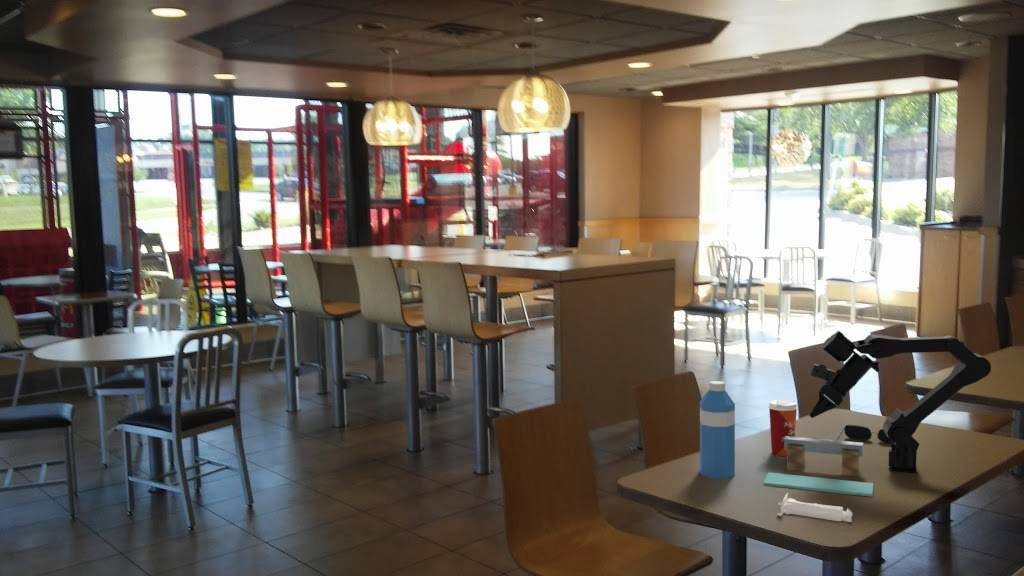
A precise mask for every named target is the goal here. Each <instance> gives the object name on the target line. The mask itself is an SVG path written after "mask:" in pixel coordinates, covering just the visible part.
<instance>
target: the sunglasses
mask: <svg viewBox="0 0 1024 576" xmlns="http://www.w3.org/2000/svg"><path fill="white" fill-rule="evenodd" d="M843 432H844V435H845V436H846V437H847V438H848V439H852V440H861V441H869V440H870V439H872V437H873V434H874V433H875V434H876V437H877V438H876V439H878V440H879V441H880V442H882V443H886V444H887V443H888V444H894V443H893V442H892V441H891V440H890V439H889V438H888V437H887V435H886V434H885V433H884V430H883V428H881V429H879V430H878V432H877V433H876V432H875V431H874V432H871V429H870V428H869V427H867V426H863V425H857V424H854V425H850V424H847V425H844V427H843V428H842V430H841V432H840V433H839V435H838V436H837V439H836V440H837V441H839V439H840V437H841V436H842V434H843Z"/></svg>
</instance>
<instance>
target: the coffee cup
mask: <svg viewBox="0 0 1024 576" xmlns="http://www.w3.org/2000/svg"><path fill="white" fill-rule="evenodd" d="M767 408H768V409H769V422H770V423H769V425H770V426H769V427H770V428H769V429H770V444H771V446H770V447H771V453H772V455H774V456H777V457H787V450H784V438H785V436H790V437H796V428H797V427H796V423H797V412H798V411H797V410H798V409H799V407H798V406H797V403H796V402H795V401H792V400H788V399H774V400H771V401H769V405H767Z"/></svg>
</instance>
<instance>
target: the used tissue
mask: <svg viewBox="0 0 1024 576" xmlns="http://www.w3.org/2000/svg"><path fill="white" fill-rule="evenodd" d="M782 499H783V500H781V502H778V504H777V505H778V506H779V507H780V512H777V510H776V512H777V513H776V515H777V516H778V517H782V516H783V515H784V514H785V515H789V516H790V514H791V515H798V516H803V517H809V518H817V519H822V520H829V521H835V522H841V521H845V522H848V523H852V520H853V519H852V517H853V515H854V513H853V512H852V510H851V509H850V508H849V507H847V509H846V510H844V507H843V506H837V505H836V506H835V505H829V504H828V505H827V504H821V503H819V504H818V503H817V502H815V503H810V502H809V503H808V502H802V501H798V500H796V499H795V498H792V497H791V498H790V497H789V492H787V493H786V494H784V497H783V498H782Z"/></svg>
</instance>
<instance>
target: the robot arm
mask: <svg viewBox="0 0 1024 576" xmlns="http://www.w3.org/2000/svg"><path fill="white" fill-rule="evenodd" d="M820 349H821V350H822V351H823V352H825V353H826V354H827V355H828V356H829V357H831V358H832V359H833V360H834V361H836V362H837V363H839V362H843V363H844V362H845V363H844V364H843V365H842V366H841V367H840V368H837V369H836V370H832V369H830V368H828V366H827V365H825V364H823V363H820V364H817V363H814V364H813V366H812V368H811V372H810V373H809V376H812V377H814V378H819V379H821V380H824V381H825V382H824V383H823V384H822V386H821V387H820V388H819V390H818V401H817V402H816V403H815V405H814V407H813V408H812V410H811V412H810V413H809V417H810V418H812V419H813V418H815V417H817V416H820V415H821V414H825V413H826V412H828V411H831V410H833V409H835V408H837V407H838V406H840V405H841V404H842V402H844V398H845V397H846V395H847V394H849V392H850V391H851V390H852V389H853V388H854V387H855V386H856V385H857V384H858V383H859V382H860V380H862V378H864V376H865V375H866V374H867V373H868V372H869V371H870V370H871V369H873V370H874V371H875V372H876V373H879V372H880V369H879V368H880V367H879V365H880V362H879V361H878V360H879V359H884V358H885V359H886V358H890V357H891V358H892V357H894V356H896V355H901V354H912V353H913V354H914V353H915V354H916V353H944V352H947V353H949V354H950V355H951V356H952V357H954V358H955V359H956V360H957V361H958V362H956V364H954V365H955V366H954V367H953V369H952V371H951V372H950V374H949V375H948V376H947V377H945V378H944V379H943V380H942V381H940V382H939V383H938V384H937V385H936V386H934V387H933V388H932V389H931V390H929V391H928V393H926V394H925V395H924V396H922V397H921V398H920V399H918V400H917V401H916V402H915V403H914V404H913V405H912V406H910V407H909V408H907V409H906V410H902V411H901V410H900V409H899V408H896V409H894V410H893V412H892V413H891V414H890V415H887V416H885V421H884V422H883V423H882V429H883V430H884V433H885V434H886V435H887V437H888V438H889V439H890V440H891V441H892V442H893V443H894V444H893V443H890V444H891V445H890V449H888V466H889V467H890V468H889V470H890V471H895V472H905V473H912V474H913V473H914V474H915V473H918V468H917V467H918V466H917V454H918V453H917V451H918V449H919V447H920V442H919V441H918V440H917V439H916V438H915V437H914V434H915V433H916V432H917V430H918V428H919V426H920V424H921V423H922V422H923V421H924V420H925V419H926V418H928V417H929V416H930V415H931V414H933V413H934V412H935V411H936V410H937V409H939V407H941V406H942V405H943V404H945V403H946V402H947V401H949V400H950V399H951V398H952V397H954V395H956V394H957V393H958V392H960V391H961V390H962V389H963V388H964V387H967V386H970V385H973V384H975V383H976V384H977V382H980V381H981V380H983V379H984V378H986V377H988V376H989V375H990V373H991V371H992V366H991V362H990V361H989V360H988V359H987V358H986V357H984V356H982V355H981V354H979V353H976V352H973V351H971V349H969V348H968V347H967V346H965V345H964V344H963V343H962V342H961V341H960V340H959V339H958V338H957V337H955V336H953V335H949V334H948V335H944V336H941V335H940V336H924V337H923V336H921V337H895V336H890V335H884V334H877V333H876V334H875V333H874V334H873V333H872V334H869V335H867V336H866V337H865V338H864V339H860V340H855V341H851V340H850V339H849V338H847V337H846V336H845V335H844V334H843V332H841V331H840V330H837V331H836V332H835V333H833V334H832V335H830V337H827V339H825V340H824V342H823V343H822V345H821V347H820ZM855 350H856V351H857V352H856V351H855ZM858 352H859V353H860V354H862V355H860V354H859V353H858ZM867 355H869V356H867ZM870 357H871V358H873V359H875V360H873V359H871V358H870ZM876 359H877V360H876Z"/></svg>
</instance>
